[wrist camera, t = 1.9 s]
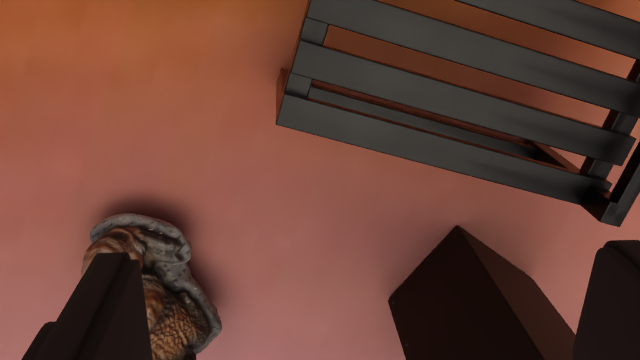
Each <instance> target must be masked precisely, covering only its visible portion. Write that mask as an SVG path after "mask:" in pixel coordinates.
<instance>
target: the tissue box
mask: <svg viewBox="0 0 640 360" xmlns="http://www.w3.org/2000/svg"><path fill="white" fill-rule="evenodd" d="M388 303H389V306H390V309H391V312H392V316H393V319H394V322H395V325H396V329H397V332H398V335H399V338H400V342H401V345H402V348H403V351H404V355H405V358H406V360H573V359H572V349H573V345H574V341H575V337H576V335H575V334H574V332H573V331H572V330H571V328H570V327H569V326H568V324H567V323H566V322H565V321H564V319H563V318H562V317H561V315H560V314H559V313H558V311H557V310H556V309H555V308H554V306H553V305H552V304H551V302H550V301H549V300H548V298H547V297H546V296H545V294H544V293H543V292H542V291H541V289H540V288H539V287H538V285H537V284H536V283H535V281H534V280H533V279H532V278H531V277H529V276H528V275H526V274H525V273H524V272H522V271H521V270H519V269H518V268H517V267H515V266H514V265H513V264H511V263H510V262H508V261H507V260H506V259H504V258H503V257H501V256H500V255H499V254H497V253H496V252H494V251H493V250H492V249H490V248H489V247H487V246H486V245H485V244H483V243H482V242H480V241H479V240H478V239H476V238H475V237H473V236H472V235H471V234H469V233H468V232H466V231H465V230H464V229H462V228H461V227H459V226H457V227H456V228H455V229H454V230H453V231H452V232H451V233H450V234H449V235H448V236H447V237H446V238H445V239H444V240H443V241H442V242H441V244H440V245H439V246H438V247H437V248H436V249H435V250H434V251H433V252H432V253H431V254H430V255H429V256H428V257H427V259H426V260H425V261H424V262H423V263H422V264H421V265H420V266H419V267H418V268H417V269H416V270H415V271H414V272H413V274H412V275H411V276H410V277H409V278H408V279H407V280H406V281H405V282H404V283H403V284H402V285H401V286H400V288H399V289H398V290H397V291H396V292H395V293H394V294H393V295H392V296H391V297H390V299H389V300H388Z"/></svg>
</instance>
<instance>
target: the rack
mask: <svg viewBox="0 0 640 360" xmlns="http://www.w3.org/2000/svg"><path fill="white" fill-rule="evenodd" d="M455 1H458V2H461V3H464V4H467V5H470V6H473V7H476V8H479V9H482V10H485V11H488V12H492V13H495V14H498V15H501V16H504V17H507V18H510V19H513V20H516V21H519V22H522V23H525V24H529V25H532V26H535V27H538V28H541V29H544V30H547V31H550V32H553V33H556V34H559V35H562V36H566V37H569V38H572V39H575V40H578V41H581V42H584V43H587V44H590V45H593V46H596V47H599V48H603V49H606V50H609V51H612V52H615V53H618V54H621V55H624V56H627V57H630V58H633V59H636V61H635V63H634V65H633V67H632V69H631V71H630V73H629V75H628V77H627V79H625V78H622V77H619V76H616V75H613V74H609V73H606V72H603V71H600V70H597V69H594V68H590V67H587V66H584V65H581V64H578V63H575V62H571V61H568V60H565V59H562V58H559V57H556V56H552V55H549V54H546V53H543V52H540V51H537V50H533V49H530V48H527V47H524V46H521V45H518V44H514V43H511V42H508V41H505V40H502V39H499V38H495V37H492V36H489V35H486V34H483V33H480V32H476V31H473V30H470V29H467V28H464V27H461V26H457V25H454V24H451V23H448V22H445V21H442V20H438V19H435V18H432V17H429V16H426V15H423V14H419V13H416V12H413V11H410V10H407V9H404V8H400V7H397V6H394V5H391V4H388V3H385V2H381V1H378V0H308V2H307V6H306V9H305V13H304V17H303V20H302V24H301V27H300V31H299V35H298V38H297V42H296V45H295V49H294V53H293V56H292V60H291V64H290V67H289V70H287V69H284V68H281V71H280V75H279V78H278V82H277V89H276V125H279V126H283V127H287V128H291V129H295V130H298V131H302V132H306V133H310V134H313V135H317V136H321V137H325V138H329V139H332V140H336V141H340V142H344V143H348V144H351V145H355V146H359V147H363V148H366V149H370V150H374V151H378V152H382V153H385V154H389V155H393V156H397V157H401V158H404V159H408V160H412V161H416V162H419V163H423V164H427V165H431V166H435V167H438V168H442V169H446V170H450V171H454V172H457V173H461V174H465V175H469V176H472V177H476V178H480V179H484V180H488V181H491V182H495V183H499V184H503V185H506V186H510V187H514V188H518V189H522V190H525V191H529V192H533V193H537V194H541V195H544V196H548V197H552V198H556V199H559V200H563V201H567V202H571V203H575V204H578V205H581V206H582V207H583V208H584V209H585V210H587V211H588V212H589V213H590V214H591V215H592V216H594V217H595V218H596V219H597V220H598V221H600V222H602V223H606V224H610V225H613V226H617V227H620V226H621V224H622V222H623V220H624V219H625V217H626V215H627V213H628V212H629V210H630V208H631V206H632V204H633V203H634V201H635V199H636V197H637V196H638V194H639V192H640V141H639V143H638V145H637V147H636V149H635V150H634V152H633V154H632V156H631V158H630V160H629V162H628V163H627V165H626V167H625V169H624V171H623V173H622V174H621V176H620V178H619V180H618V182H617V184H616V185H615V187H614V189H613V191H612V193H611V192H610V191H609V189H610V187H611V186H612V183H610V182H609V181H608V180H606V178H607V176H608V174H609V172H610V171H611V169H612V167H613V165H618V166H622V165H623V163H624V161H625V159H626V157H627V156H628V154H629V152H630V150H631V148H632V146H633V144H634V143H635V141H636V138H634V137H632V136H630V133H631V131H632V129H633V127H634V126H635V124H636V122H637V120H638V118H640V22H638V21H635V20H632V19H629V18H626V17H623V16H620V15H617V14H614V13H611V12H608V11H605V10H603V9H600V8H597V7H594V6H591V5H588V4H585V3H582V2H579V1H576V0H455ZM329 25H333V26H336V27H339V28H342V29H346V30H349V31H352V32H356V33H359V34H362V35H366V36H369V37H372V38H375V39H379V40H382V41H385V42H389V43H392V44H395V45H399V46H402V47H405V48H409V49H412V50H415V51H418V52H422V53H425V54H428V55H432V56H435V57H438V58H442V59H445V60H448V61H451V62H455V63H458V64H461V65H465V66H468V67H471V68H475V69H478V70H481V71H485V72H488V73H491V74H494V75H498V76H501V77H504V78H508V79H511V80H514V81H518V82H521V83H524V84H528V85H531V86H534V87H537V88H541V89H544V90H547V91H551V92H554V93H557V94H561V95H564V96H567V97H570V98H574V99H577V100H580V101H584V102H587V103H590V104H594V105H597V106H600V107H604V108H607V109H610V112H609V114H608V116H607V118H606V120H605V122H604V124H603V126H602V127H600V126H597V125H593V124H590V123H586V122H583V121H580V120H576V119H573V118H570V117H566V116H563V115H559V114H556V113H553V112H549V111H546V110H542V109H539V108H536V107H532V106H529V105H525V104H522V103H519V102H515V101H512V100H509V99H505V98H502V97H498V96H495V95H492V94H488V93H485V92H481V91H478V90H475V89H471V88H468V87H465V86H461V85H458V84H454V83H451V82H448V81H444V80H441V79H437V78H434V77H431V76H427V75H424V74H420V73H417V72H414V71H410V70H407V69H404V68H400V67H397V66H393V65H390V64H387V63H383V62H380V61H376V60H373V59H370V58H366V57H363V56H359V55H356V54H353V53H349V52H346V51H343V50H339V49H336V48H332V47H329V46H326V45H323V44H324V40H325V37H326V34H327V30H328V27H329ZM313 79H314V80H317V81H321V82H324V83H328V84H331V85H335V86H339V87H342V88H346V89H349V90H353V91H356V92H360V93H363V94H367V95H370V96H374V97H377V98H381V99H385V100H388V101H392V102H395V103H399V104H402V105H406V106H409V107H413V108H416V109H420V110H423V111H427V112H430V113H434V114H438V115H441V116H445V117H448V118H452V119H455V120H459V121H462V122H466V123H469V124H473V125H476V126H480V127H484V128H487V129H491V130H494V131H498V132H501V133H505V134H508V135H512V136H515V137H519V138H522V139H526V140H525V142H524V143H521V142H518V141H514V140H511V139H507V138H504V137H500V136H497V135H493V134H489V133H486V132H482V131H479V130H475V129H472V128H468V127H464V126H461V125H457V124H454V123H450V122H447V121H443V120H440V119H436V118H432V117H429V116H425V115H422V114H418V113H415V112H411V111H408V110H404V109H400V108H397V107H393V106H390V105H386V104H383V103H379V102H376V101H372V100H368V99H365V98H361V97H358V96H354V95H351V94H347V93H344V92H340V91H336V90H333V89H329V88H326V87H322V86H319V85H315V84H312V81H313ZM549 146H551V147H554V148H558V149H561V150H565V151H568V152H572V153H576V154H579V155H583V156H586V159H585V161H584V163H583V165H582V167H581V169H579V168H577V167H576V166H574V165H573V164H572V163H570V162H569V161H568V160H566V159H565V158H564V157H562V156H561V155H559V154H558V153H557V152H555V151H554V150H553V149H551V148H550V147H549Z"/></svg>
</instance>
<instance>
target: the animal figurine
mask: <svg viewBox="0 0 640 360" xmlns="http://www.w3.org/2000/svg"><path fill="white" fill-rule="evenodd" d="M90 238H91V242H92V244H91V245H90V247H89V248H88V249H87V250H86V252H85V256H84V259H83V267H82V276H83V275H84V273H85V271H86V270H87V268H88V266H89V265H90V263H91V261H92V260H93V258H94V256H95V255H96V254H97V253H112V252H127V253H129V255H130V258H131V259H138V260H139V262H140V265H141V272H142V280H143V287H144V295H145V302H146V310H147V318H148V325H149V333H150V341H151V348H152V356H153V360H196V355H197V354H198V353H200V352H201V351H202V350H204V349H205V348H206V347H207V346H208V345H209V343H210V342H211V341H212V340H213V339H214V338H215V337H216V336H217V335H218V334H219V333H220V332H221V330H222V324H221V320H220V318H219V315H218V313H217V309H216V307H215V305H214V304H213V303H212V302H211V301H210V300H209V299H208V298H207V296H206V295H205V294H204V292H203V290H202V288H201V287H200V286H199V284H198V283H197V282H196V281H195V280H194V279H193V277H192V276H191V270H190V268H189V265H188V263H187V261H189V260H190V257H191V250H192V248H191V244H190V243H189V242H188V241H187V240H186V238H185V237H184V235H183V233H182V232H181V231H180V230H179V229H178V228H176V227H175V226H174V225H172V224H170V223H168V222H166V221H163V220H161V219H157V218H154V217H149V216H145V215H140V214H134V213H121V214H116V215H113V216H110V217H108V218H106V219H104V220H102V221H101V222H99V223H98V224H97V225H95V226H94V227H93V228H92V230H91V232H90Z"/></svg>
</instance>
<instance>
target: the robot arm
mask: <svg viewBox="0 0 640 360" xmlns="http://www.w3.org/2000/svg"><path fill="white" fill-rule="evenodd" d="M572 359H573V360H640V241H639V240H617V241H608V242H607V243H606V244H605V245H604V247H603V248H600V249H599V250H598V251H597V253H596V255H595V259H594V264H593V268H592V272H591V276H590V280H589V284H588V288H587V292H586V296H585V300H584V304H583V308H582V312H581V316H580V320H579V324H578V329H577V333H576V337H575V341H574V345H573V349H572ZM22 360H153V356H152V348H151V341H150V333H149V325H148V318H147V310H146V302H145V295H144V287H143V280H142V272H141V265H140V262H139V260H138V259H131V258H130V255H129V253H127V252H112V253H97V254H96V255H95V256H94V258H93V260H92V261H91V263H90V265H89V266H88V268H87V270H86V271H85V273H84V275H83V276H82V278H81V280H80V282H79V283H78V285H77V287H76V288H75V290H74V292H73V293H72V295H71V297H70V298H69V300H68V302H67V304H66V305H65V307H64V309H63V310H62V312H61V314H60V315H59V317H58V319H57V321H56V322H48V323H46V324H44V326H43V327H42V328H41V329H40V331H39V332H38V334H37V335H36V337H35V339H34V340H33V342H32V344H31V345H30V347H29V348H28V350H27V352H26V353H25V355H24V356H23V358H22Z"/></svg>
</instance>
